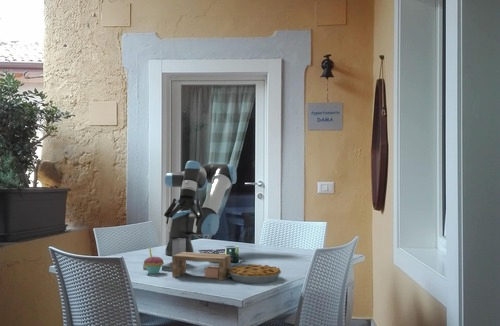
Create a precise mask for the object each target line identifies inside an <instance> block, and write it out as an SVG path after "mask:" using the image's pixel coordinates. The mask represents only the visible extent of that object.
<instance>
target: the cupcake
mask: <svg viewBox="0 0 500 326" xmlns="http://www.w3.org/2000/svg"><path fill="white" fill-rule="evenodd" d="M148 247H149V249H148V250H149V257H147V258H145V259H144V261H143V265H145V266H146V268H147V270H146V271H147V274H149V275H152V274H153V275H155V274H159V273H160V270H161V269H162V266H163V265H165V264H164V260H163V259H162V258H161V257H160V256H153V255H152V248H151V247H150V245H149V246H148Z"/></svg>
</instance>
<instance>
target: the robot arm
mask: <svg viewBox="0 0 500 326" xmlns="http://www.w3.org/2000/svg"><path fill="white" fill-rule="evenodd" d="M237 174H238V173H237V169H236V166H235V164H232V163H208V164H204V165H201V163H200V162H198V161H196V160H188V161H187V162H186V163H185V167H184V170H183V171H179V172H167V173H166V174H165V177H164V184H165V186H166V187H168V188H181V190H180V192H179V199H176V198H173V200H172V202H171V204H170V205H169V206H168V208H167V210H166V211H165V213H164V214H163V216H164V217H165V218H167V219H166V231H167V232H168V241H167V244H166V248H165V251H164V252H165V255H166V256H169V257H172V240H175V239H178V238H186V252H192V253H195V252H194V247H193V243H192V240H191V236H204V237H210V236H212V237H213V236H215V235H216V234H217V233H218V230H219V227H220V226H219V225H220V217H219V215H218V211H219V209H220V206H221V203H222V201H223V198H224V196H225V192H226V191H227V190H228V189H229V188H230V187H231V186H232V185H234V184H236V183H237V177H238V176H237ZM208 184H211V187H210V188H209V191H208V193H207V196H206V198H205V200H204V202H203V204H202V206H201V201H200V199H196V192H197V190H198V191H203V190H205V189H206V188H207V187H208ZM194 205H196V208H197V211H196V209H195V207H194Z"/></svg>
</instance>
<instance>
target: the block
mask: <svg viewBox="0 0 500 326" xmlns="http://www.w3.org/2000/svg"><path fill="white" fill-rule="evenodd" d="M204 278H211V279H219V266H218V265H217V266H216V265H209V266H207V267H205V268H204Z"/></svg>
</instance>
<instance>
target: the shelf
mask: <svg viewBox="0 0 500 326" xmlns="http://www.w3.org/2000/svg"><path fill="white" fill-rule="evenodd" d="M231 257H232V255H231V254H226V253H225V254H224V253H206V252H194V253H192V252H182V253H179V254H176V255H173V268H172V271H171V272H172V276H171V277H172V278H177V277H179V276H181V275H184V274H185V273H186V272H187V261H195V262H209V263H210V262H213V263H218V265H219V278H218V280H219V281H224V280H225V279H226V280H227V278H229V277H231V275H230V273H229V271H230V268H232V262H231V261H232V258H231Z"/></svg>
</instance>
